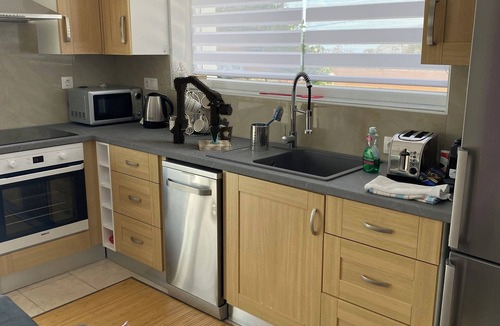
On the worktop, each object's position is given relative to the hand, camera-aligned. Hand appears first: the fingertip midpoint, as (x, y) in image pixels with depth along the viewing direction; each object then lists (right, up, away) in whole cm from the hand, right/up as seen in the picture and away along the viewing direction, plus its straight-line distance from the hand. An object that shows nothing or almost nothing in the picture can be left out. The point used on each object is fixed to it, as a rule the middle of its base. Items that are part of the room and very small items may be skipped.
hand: (214, 140), depth 293 cm
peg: (0, -4, +1) cm, 4 cm away
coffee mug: (+4, +1, +21) cm, 22 cm away
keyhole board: (0, -4, +1) cm, 4 cm away
